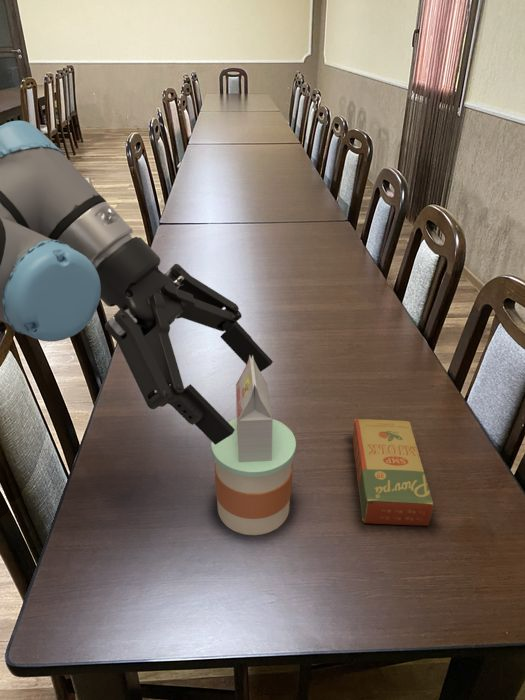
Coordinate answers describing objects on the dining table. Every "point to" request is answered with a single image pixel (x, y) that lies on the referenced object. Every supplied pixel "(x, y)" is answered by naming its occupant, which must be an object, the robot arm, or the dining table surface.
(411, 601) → the dining table surface
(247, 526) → the coffee cup
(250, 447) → the paper tea packet
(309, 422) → the dining table surface
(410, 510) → the carton
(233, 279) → the dining table surface
